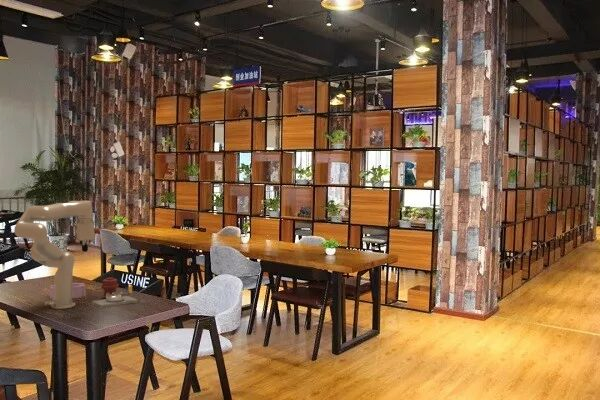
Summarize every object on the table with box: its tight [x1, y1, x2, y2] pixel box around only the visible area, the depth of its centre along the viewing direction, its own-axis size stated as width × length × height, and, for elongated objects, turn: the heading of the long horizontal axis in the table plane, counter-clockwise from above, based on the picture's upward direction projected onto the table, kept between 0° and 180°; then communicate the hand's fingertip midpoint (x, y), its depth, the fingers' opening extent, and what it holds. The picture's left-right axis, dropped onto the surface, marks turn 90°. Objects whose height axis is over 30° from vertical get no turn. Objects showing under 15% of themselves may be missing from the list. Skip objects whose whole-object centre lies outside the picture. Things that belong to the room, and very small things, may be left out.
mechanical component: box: [100, 277, 120, 298], centre depth 327 cm, size 12×10×10 cm
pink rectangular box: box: [49, 282, 87, 300], centre depth 330 cm, size 20×12×7 cm, turn 117°
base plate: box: [91, 296, 138, 309], centre depth 315 cm, size 22×13×2 cm, turn 133°
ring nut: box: [105, 284, 133, 302], centre depth 315 cm, size 11×14×9 cm
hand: (84, 251), depth 321 cm, fingers closed
